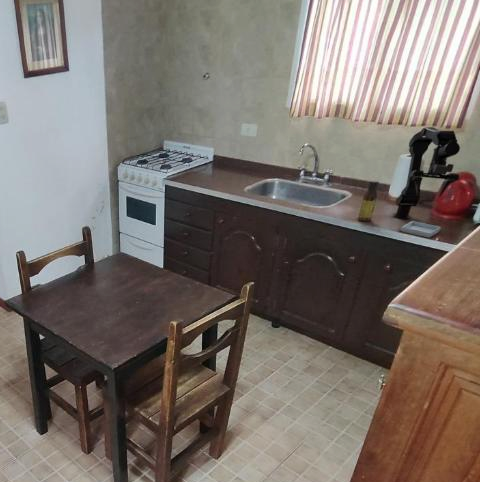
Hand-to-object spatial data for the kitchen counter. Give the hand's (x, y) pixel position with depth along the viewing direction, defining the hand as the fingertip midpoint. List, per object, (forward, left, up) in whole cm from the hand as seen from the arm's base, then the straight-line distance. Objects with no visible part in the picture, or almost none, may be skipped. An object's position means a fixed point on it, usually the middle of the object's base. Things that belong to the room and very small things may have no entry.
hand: (428, 195), depth 220 cm
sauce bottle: (-11, -24, -19) cm, 33 cm away
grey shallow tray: (-5, +2, -19) cm, 19 cm away
